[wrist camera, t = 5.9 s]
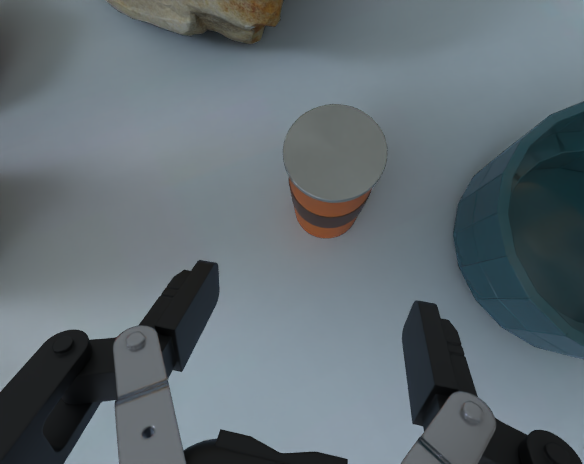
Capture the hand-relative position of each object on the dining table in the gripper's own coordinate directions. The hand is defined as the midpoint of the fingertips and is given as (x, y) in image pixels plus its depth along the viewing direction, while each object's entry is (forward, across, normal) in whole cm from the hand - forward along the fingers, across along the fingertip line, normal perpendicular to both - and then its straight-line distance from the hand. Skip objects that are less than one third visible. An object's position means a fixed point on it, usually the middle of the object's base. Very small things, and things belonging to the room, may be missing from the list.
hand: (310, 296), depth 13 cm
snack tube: (+13, 0, +3) cm, 13 cm away
